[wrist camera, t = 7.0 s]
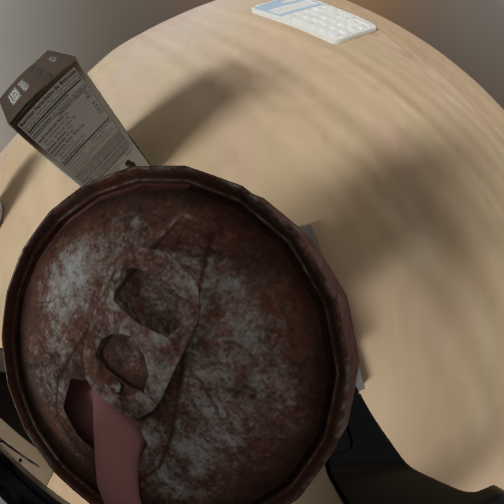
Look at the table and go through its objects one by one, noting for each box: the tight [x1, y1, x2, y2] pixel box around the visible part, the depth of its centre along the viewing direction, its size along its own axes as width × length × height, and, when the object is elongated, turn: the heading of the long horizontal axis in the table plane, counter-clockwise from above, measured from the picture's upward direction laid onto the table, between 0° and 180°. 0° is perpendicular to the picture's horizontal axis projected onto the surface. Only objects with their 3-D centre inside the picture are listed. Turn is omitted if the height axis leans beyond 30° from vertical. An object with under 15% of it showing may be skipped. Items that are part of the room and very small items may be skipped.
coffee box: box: [0, 51, 151, 187], centre depth 19 cm, size 9×6×16 cm
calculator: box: [252, 0, 377, 44], centre depth 33 cm, size 13×20×2 cm, turn 41°
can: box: [2, 166, 359, 504], centre depth 9 cm, size 6×6×14 cm
